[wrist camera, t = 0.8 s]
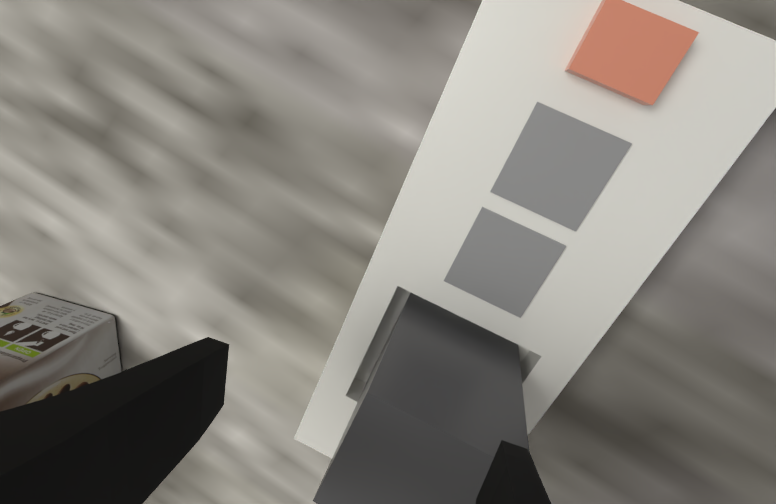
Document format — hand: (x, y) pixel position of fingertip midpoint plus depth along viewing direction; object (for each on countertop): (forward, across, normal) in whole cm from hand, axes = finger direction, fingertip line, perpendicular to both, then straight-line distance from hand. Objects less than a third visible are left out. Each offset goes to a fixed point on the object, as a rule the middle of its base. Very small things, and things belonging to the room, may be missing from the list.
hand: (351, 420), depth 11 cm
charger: (+8, -2, +3) cm, 9 cm away
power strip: (+10, -3, -1) cm, 10 cm away
